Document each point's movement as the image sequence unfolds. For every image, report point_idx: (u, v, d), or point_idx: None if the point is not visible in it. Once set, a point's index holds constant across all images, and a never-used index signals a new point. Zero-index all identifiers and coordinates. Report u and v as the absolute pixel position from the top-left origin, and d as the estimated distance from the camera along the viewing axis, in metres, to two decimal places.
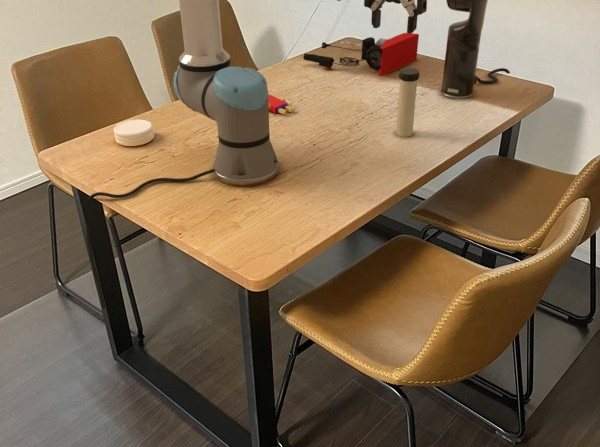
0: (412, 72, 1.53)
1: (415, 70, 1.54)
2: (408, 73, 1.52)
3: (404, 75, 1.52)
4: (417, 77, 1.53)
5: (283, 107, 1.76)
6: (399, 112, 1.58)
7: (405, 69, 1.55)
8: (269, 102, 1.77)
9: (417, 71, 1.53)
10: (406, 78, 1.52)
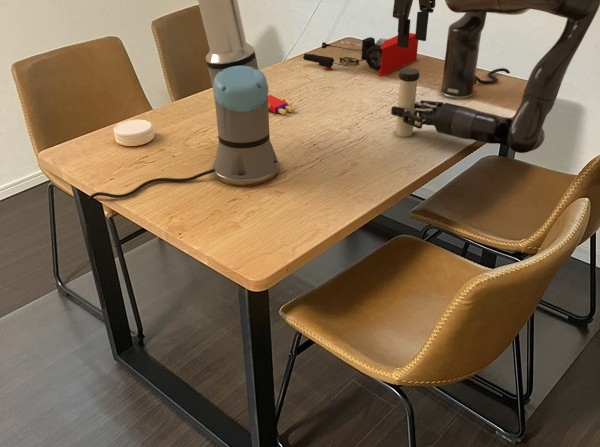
0: (412, 72, 1.53)
1: (415, 70, 1.54)
2: (408, 73, 1.52)
3: (404, 75, 1.52)
4: (417, 77, 1.53)
5: (283, 107, 1.76)
6: None
7: (405, 69, 1.55)
8: (269, 102, 1.77)
9: (417, 71, 1.53)
10: (406, 78, 1.52)
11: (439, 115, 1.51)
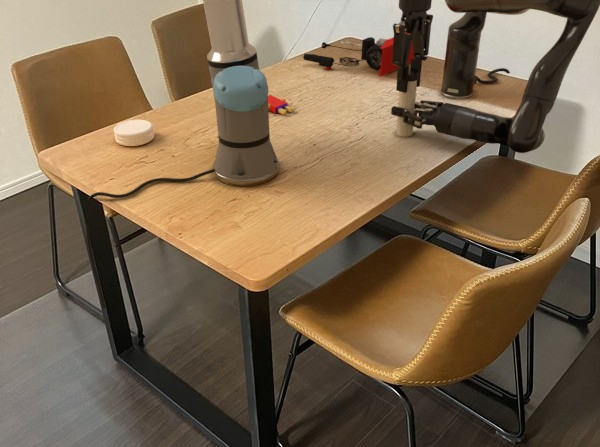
0: (412, 72, 1.53)
1: (415, 70, 1.54)
2: None
3: None
4: (417, 77, 1.53)
5: (283, 107, 1.76)
6: None
7: None
8: (269, 102, 1.77)
9: (417, 71, 1.53)
10: None
11: (439, 115, 1.51)
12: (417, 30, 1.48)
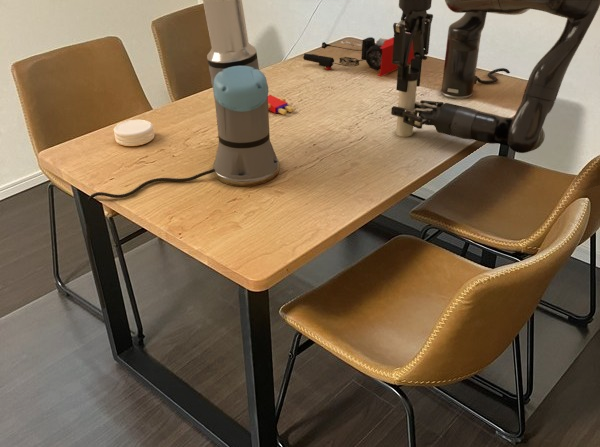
0: (412, 69, 1.54)
1: None
2: (415, 70, 1.53)
3: (418, 73, 1.53)
4: None
5: (283, 107, 1.76)
6: None
7: None
8: (269, 102, 1.77)
9: None
10: (418, 75, 1.54)
11: (439, 115, 1.51)
12: (417, 29, 1.48)
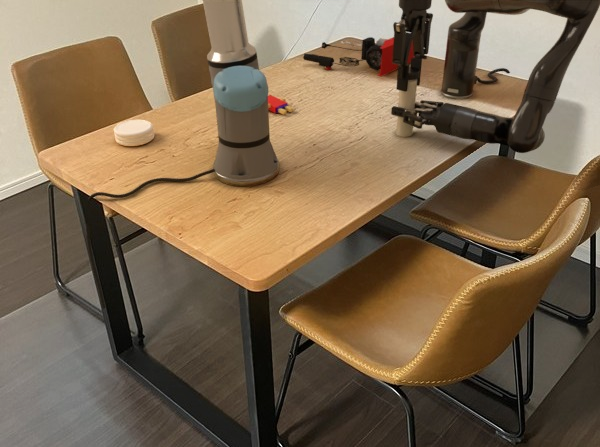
0: None
1: None
2: None
3: None
4: None
5: (283, 107, 1.76)
6: None
7: (414, 71, 1.53)
8: (269, 102, 1.77)
9: None
10: None
11: (439, 115, 1.51)
12: (417, 29, 1.48)
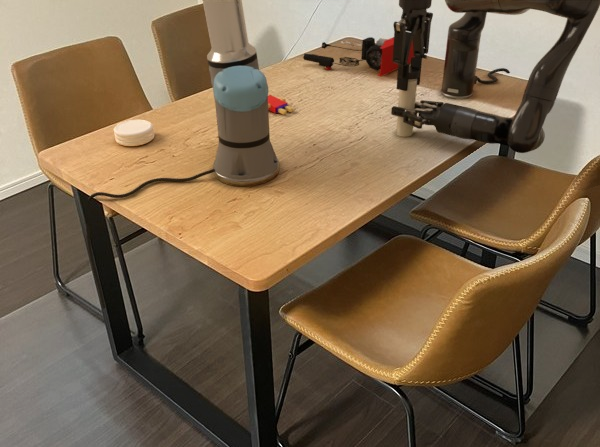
0: None
1: (413, 71, 1.52)
2: None
3: None
4: None
5: (283, 107, 1.76)
6: None
7: (413, 67, 1.54)
8: (269, 102, 1.77)
9: (411, 71, 1.52)
10: None
11: (439, 115, 1.51)
12: (417, 28, 1.48)
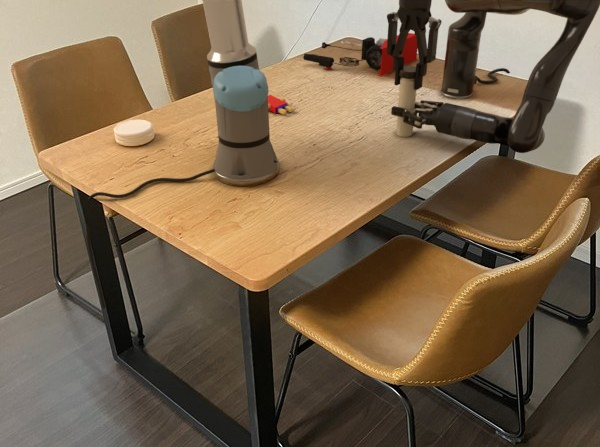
0: (413, 69, 1.53)
1: (414, 67, 1.54)
2: (411, 70, 1.52)
3: (408, 73, 1.52)
4: None
5: (283, 107, 1.76)
6: None
7: (404, 67, 1.54)
8: (269, 102, 1.77)
9: None
10: (410, 76, 1.52)
11: (439, 115, 1.51)
12: None
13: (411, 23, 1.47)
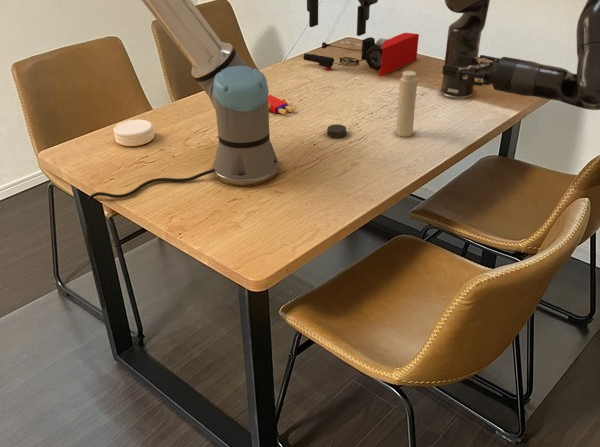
0: (340, 129, 1.61)
1: (341, 126, 1.63)
2: (337, 130, 1.61)
3: (334, 133, 1.60)
4: (345, 133, 1.62)
5: (283, 107, 1.76)
6: (399, 112, 1.58)
7: (332, 126, 1.63)
8: (269, 102, 1.77)
9: (344, 127, 1.62)
10: (336, 135, 1.60)
11: (497, 69, 1.37)
12: None
13: None
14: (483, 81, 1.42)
